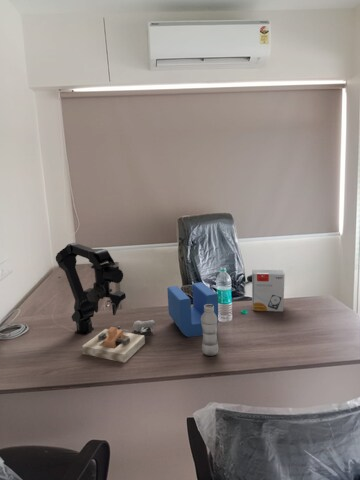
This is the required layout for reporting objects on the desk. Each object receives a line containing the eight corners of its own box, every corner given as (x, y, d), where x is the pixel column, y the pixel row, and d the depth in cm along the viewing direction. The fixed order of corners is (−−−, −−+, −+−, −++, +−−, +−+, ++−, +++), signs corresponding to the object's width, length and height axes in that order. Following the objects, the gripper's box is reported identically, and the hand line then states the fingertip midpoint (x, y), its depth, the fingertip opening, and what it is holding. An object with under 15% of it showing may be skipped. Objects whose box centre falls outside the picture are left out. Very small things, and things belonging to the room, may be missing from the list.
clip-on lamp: (114, 346, 148) (152, 339, 144) (109, 334, 147) (148, 326, 143) (122, 331, 159) (158, 325, 156) (118, 320, 158) (154, 313, 154)
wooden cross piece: (105, 349, 138) (102, 334, 135) (116, 337, 145) (112, 322, 142) (114, 351, 136) (110, 336, 134) (124, 339, 143) (120, 324, 140)
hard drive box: (252, 311, 171) (252, 273, 167) (251, 305, 179) (251, 269, 175) (284, 311, 169) (284, 273, 165) (282, 306, 176) (282, 269, 172)
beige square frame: (83, 353, 137) (81, 341, 136) (106, 336, 151) (105, 325, 150) (124, 362, 129) (123, 350, 128) (145, 343, 144) (144, 331, 142)
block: (203, 316, 168) (202, 281, 164) (218, 331, 151) (217, 293, 148) (169, 322, 163) (167, 287, 159) (181, 339, 146) (179, 300, 142)
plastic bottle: (214, 359, 129) (213, 310, 125) (198, 355, 132) (197, 307, 128) (221, 351, 134) (220, 304, 130) (206, 347, 137) (205, 301, 134)
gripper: (71, 283, 138) (75, 318, 141) (109, 287, 131) (112, 324, 134) (89, 275, 148) (92, 308, 152) (124, 278, 141) (127, 313, 144)
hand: (105, 313), depth 145 cm, fingers open, 9 cm apart
